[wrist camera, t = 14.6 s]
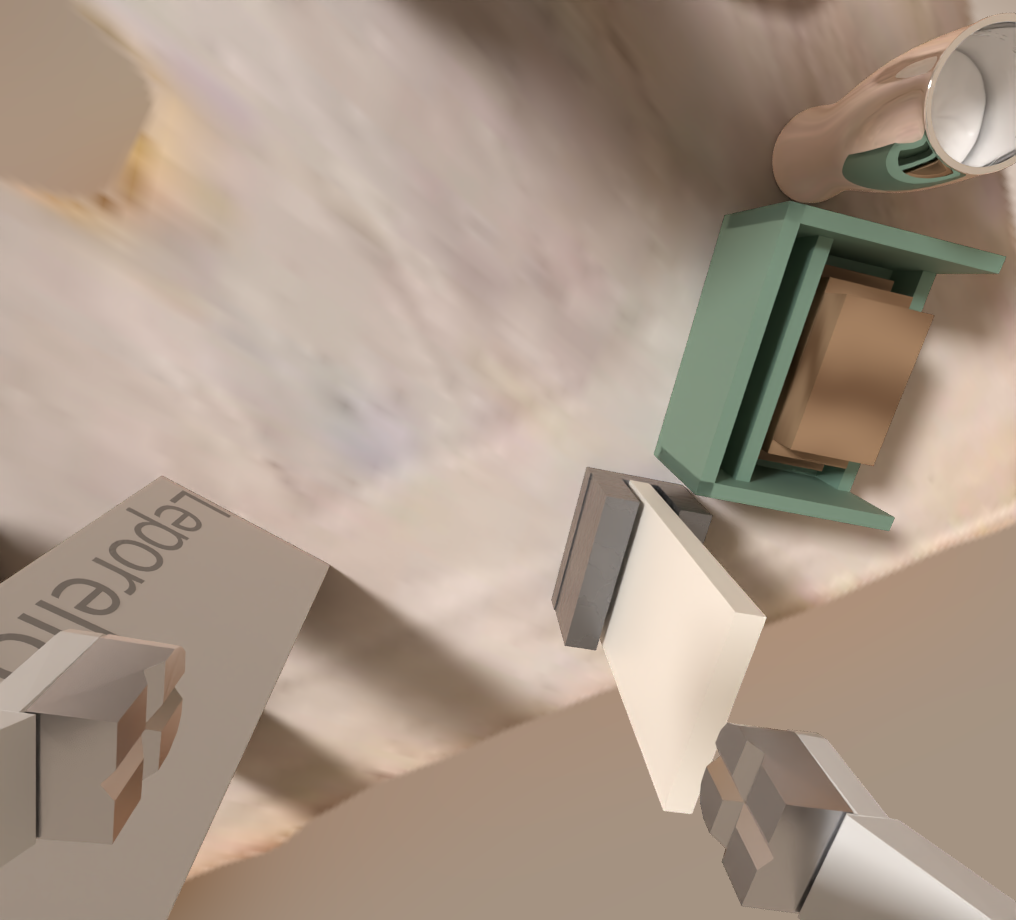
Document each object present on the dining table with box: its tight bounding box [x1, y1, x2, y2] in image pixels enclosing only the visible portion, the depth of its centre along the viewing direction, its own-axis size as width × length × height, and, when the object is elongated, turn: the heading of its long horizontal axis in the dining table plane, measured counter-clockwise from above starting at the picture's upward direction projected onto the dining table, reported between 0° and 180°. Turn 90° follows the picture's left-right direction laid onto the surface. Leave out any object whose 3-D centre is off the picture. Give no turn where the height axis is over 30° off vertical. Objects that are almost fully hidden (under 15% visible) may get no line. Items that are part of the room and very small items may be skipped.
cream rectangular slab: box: [600, 480, 767, 814], centre depth 39 cm, size 12×2×19 cm, turn 168°
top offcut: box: [773, 293, 934, 466], centre depth 39 cm, size 10×6×2 cm, turn 168°
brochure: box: [0, 476, 330, 920], centre depth 33 cm, size 14×6×30 cm, turn 56°
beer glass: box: [772, 13, 1016, 204], centre depth 35 cm, size 7×7×15 cm
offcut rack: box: [654, 201, 1006, 531], centre depth 42 cm, size 18×14×9 cm
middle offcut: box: [761, 277, 913, 469], centre depth 42 cm, size 12×6×2 cm, turn 168°
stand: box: [552, 467, 712, 650], centre depth 46 cm, size 12×8×6 cm, turn 168°
